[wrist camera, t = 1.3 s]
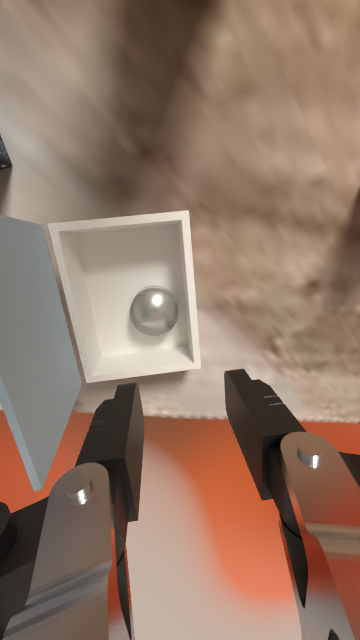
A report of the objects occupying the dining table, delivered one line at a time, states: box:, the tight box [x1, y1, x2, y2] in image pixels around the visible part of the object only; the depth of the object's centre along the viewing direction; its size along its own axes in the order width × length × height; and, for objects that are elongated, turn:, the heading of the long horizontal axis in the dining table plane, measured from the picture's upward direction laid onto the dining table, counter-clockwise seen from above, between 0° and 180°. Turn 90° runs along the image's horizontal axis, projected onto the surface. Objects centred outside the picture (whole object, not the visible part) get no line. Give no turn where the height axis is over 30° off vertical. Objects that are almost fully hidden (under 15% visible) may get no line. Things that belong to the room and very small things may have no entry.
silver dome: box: [130, 285, 178, 336], centre depth 31 cm, size 6×6×3 cm
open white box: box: [48, 210, 201, 383], centre depth 30 cm, size 14×18×6 cm
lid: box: [0, 215, 82, 491], centre depth 20 cm, size 13×18×1 cm
